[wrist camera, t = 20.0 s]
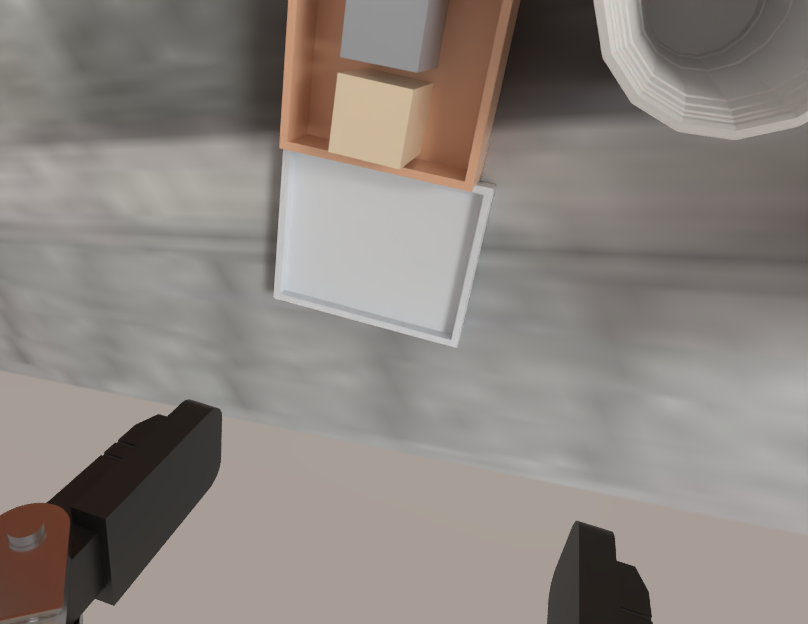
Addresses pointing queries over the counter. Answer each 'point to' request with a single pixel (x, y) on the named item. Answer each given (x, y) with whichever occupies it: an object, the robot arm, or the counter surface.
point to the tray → (378, 246)
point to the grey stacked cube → (394, 32)
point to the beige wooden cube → (379, 116)
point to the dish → (453, 79)
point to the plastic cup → (710, 62)
